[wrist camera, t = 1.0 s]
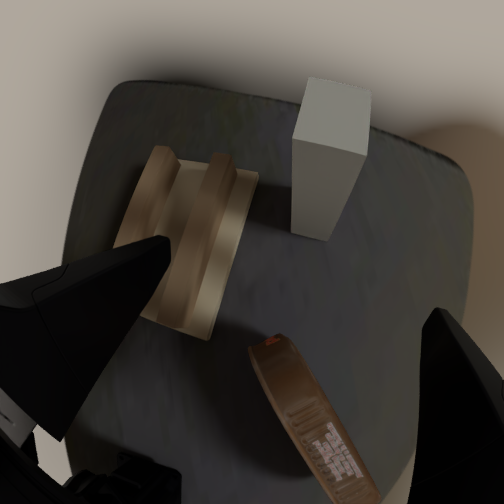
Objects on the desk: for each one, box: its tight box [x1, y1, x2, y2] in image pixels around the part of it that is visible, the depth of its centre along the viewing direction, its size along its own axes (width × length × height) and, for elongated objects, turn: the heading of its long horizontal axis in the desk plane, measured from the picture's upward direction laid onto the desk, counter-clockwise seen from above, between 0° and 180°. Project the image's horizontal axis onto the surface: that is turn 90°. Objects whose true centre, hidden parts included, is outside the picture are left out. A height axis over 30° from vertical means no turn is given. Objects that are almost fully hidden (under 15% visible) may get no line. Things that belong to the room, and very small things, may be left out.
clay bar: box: [291, 77, 372, 242], centre depth 17 cm, size 4×3×12 cm
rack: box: [113, 146, 259, 341], centre depth 22 cm, size 14×10×4 cm
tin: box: [248, 334, 381, 504], centre depth 15 cm, size 15×3×8 cm, turn 28°
